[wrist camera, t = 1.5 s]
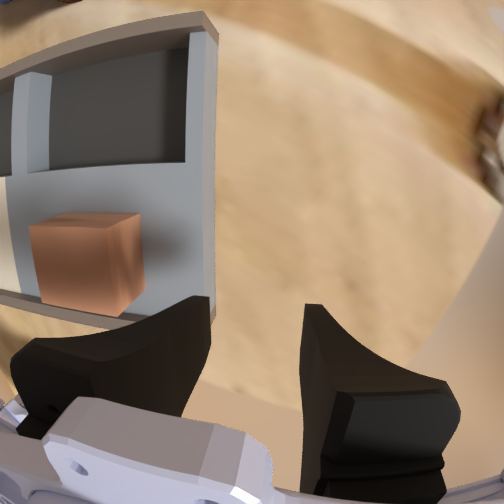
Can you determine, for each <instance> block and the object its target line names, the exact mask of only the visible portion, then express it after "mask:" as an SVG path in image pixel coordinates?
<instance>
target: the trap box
mask: <svg viewBox="0 0 504 504" xmlns="http://www.w3.org/2000/svg"><path fill="white" fill-rule="evenodd" d="M218 40H219V33H218V32H217V30H216V29H215V27H214V26H213V24H212V23H211V21H210V20H209V19H208V17H207V16H206V14H205V13H204V11H198V12H190V13H183V14H176V15H169V16H163V17H158V18H152V19H147V20H142V21H138V22H133V23H129V24H124V25H120V26H116V27H112V28H108V29H105V30H101V31H98V32H94V33H91V34H87V35H84V36H81V37H78V38H75V39H72V40H69V41H66V42H63V43H60V44H58V45H55V46H52V47H50V48H47V49H44V50H42V51H39V52H37V53H34V54H32V55H30V56H27V57H25V58H23V59H20V60H18V61H16V62H14V63H12V64H10V65H7V66H5V67H3V68H1V69H0V304H2V305H6V306H10V307H13V308H17V309H21V310H24V311H28V312H32V313H36V314H40V315H44V316H48V317H53V318H57V319H61V320H66V321H70V322H75V323H79V324H84V325H89V326H94V327H99V328H104V329H109V330H113V329H117V328H120V327H124V326H127V325H130V324H133V323H135V322H138V321H140V320H143V319H145V318H147V317H149V316H152V315H154V314H156V313H158V312H160V311H162V310H164V309H166V308H168V307H170V306H172V305H174V304H176V303H178V302H180V301H182V300H184V299H186V298H188V297H190V296H193V295H197V296H208V297H210V323H211V325H212V322H213V320H214V318H215V316H216V292H215V125H216V89H217V62H218ZM64 213H140V222H141V238H142V252H143V264H144V275H145V285H146V289H145V290H144V291H143V292H142V293H141V294H140V295H139V296H138V297H137V298H136V299H135V300H134V301H133V302H132V303H131V304H130V305H129V306H128V307H127V308H126V309H125V310H124V311H123V312H122V313H121V314H120V315H119V316H118V317H114V316H108V315H103V314H97V313H91V312H86V311H81V310H75V309H70V308H65V307H60V306H55V305H50V304H46V303H42V300H41V296H40V291H39V286H38V281H37V276H36V271H35V266H34V260H33V254H32V247H31V240H30V233H29V226H30V225H33V224H36V223H38V222H41V221H44V220H47V219H50V218H53V217H56V216H58V215H61V214H64Z"/></svg>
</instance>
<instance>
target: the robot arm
mask: <svg viewBox="0 0 504 504" xmlns="http://www.w3.org/2000/svg"><path fill="white" fill-rule="evenodd" d="M210 346H211V323H210V297H208V296H197V295H193V296H190V297H188V298H186V299H184V300H182V301H180V302H178V303H176V304H174V305H172V306H170V307H168V308H166V309H164V310H162V311H160V312H158V313H156V314H154V315H152V316H149V317H147V318H145V319H143V320H140V321H138V322H135V323H133V324H130V325H127V326H124V327H120V328H117V329H113V330H109V331H105V332H100V333H96V334H91V335H84V336H76V337H64V338H34V339H33V340H31V341H30V342H29V343H28V344H27V345H25V346H24V347H23V348H22V349H21V350H19V351H18V352H17V353H16V354H15V355H14V356H13V357H12V358H11V362H10V370H11V376H12V379H13V382H14V385H15V387H16V389H17V391H18V394H17V395H16V396H15V398H14V399H12V400H10V401H9V402H8V403H7V404H6V405H5V406H3V405H4V404H5V402H4V401H3V400H2V399H0V504H504V469H503V470H502V472H501V474H499V475H496V476H493V477H490V478H486V479H483V480H480V481H476V482H473V483H469V484H465V485H461V486H457V487H453V488H449V489H446V486H445V482H444V479H443V476H442V473H441V469H443V467H444V464H445V463H444V460H443V457H442V452H443V451H444V449H445V447H446V446H447V444H448V443H449V441H450V439H451V437H452V436H453V434H454V432H455V431H456V429H457V426H458V424H459V422H460V415H461V410H460V407H459V405H458V402H457V400H456V399H455V397H454V395H453V393H452V391H451V389H450V387H449V386H448V384H447V382H446V381H443V380H439V379H435V378H431V377H428V376H424V375H420V374H418V373H415V372H412V371H410V370H407V369H404V368H402V367H400V366H398V365H395V364H393V363H391V362H389V361H387V360H386V359H384V358H382V357H380V356H378V355H377V354H375V353H373V352H372V351H371V350H369V349H368V348H366V347H365V346H363V345H362V344H361V343H359V342H358V341H357V340H356V339H355V338H353V337H352V336H351V335H350V334H349V333H348V332H347V331H346V330H345V329H343V328H342V327H341V325H340V324H339V323H338V322H337V321H336V320H335V319H334V318H333V317H332V316H331V315H330V313H329V312H328V311H327V310H326V309H325V308H324V306H323V305H322V304H305V309H304V319H303V329H302V338H301V346H300V365H299V375H300V386H301V397H302V409H303V423H304V424H303V425H304V431H303V452H302V468H301V480H300V492H295V491H290V490H286V489H281V488H277V487H273V486H272V473H273V472H272V471H273V462H272V459H271V456H270V454H269V451H268V448H267V447H265V446H264V445H262V444H261V443H259V442H258V441H257V440H255V439H254V438H252V437H251V436H250V435H248V434H247V433H245V432H243V431H240V430H237V429H233V428H229V427H226V426H223V425H220V424H216V423H210V422H203V421H197V420H191V419H186V418H181V415H182V413H183V410H184V408H185V405H186V403H187V401H188V399H189V397H190V395H191V393H192V391H193V389H194V386H195V385H196V382H197V380H198V378H199V376H200V374H201V372H202V370H203V368H204V365H205V363H206V360H207V356H208V353H209V350H210Z"/></svg>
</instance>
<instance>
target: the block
mask: <svg viewBox="0 0 504 504" xmlns="http://www.w3.org/2000/svg"><path fill="white" fill-rule="evenodd" d="M29 233H30V240H31V247H32V254H33V260H34V266H35V271H36V276H37V281H38V286H39V291H40V296H41V300H42V303H46V304H50V305H55V306H60V307H65V308H70V309H75V310H81V311H86V312H91V313H97V314H103V315H108V316H114V317H118V316H119V315H120V314H121V313H122V312H123V311H124V310H125V309H126V308H127V307H128V306H129V305H130V304H131V303H132V302H133V301H134V300H135V299H136V298H137V297H138V296H139V295H140V294H141V293H142V292H143V291H144V290H145V289H146V285H145V275H144V264H143V252H142V238H141V222H140V213H64V214H61V215H58V216H56V217H53V218H50V219H47V220H44V221H41V222H38V223H36V224H33V225H30V226H29Z"/></svg>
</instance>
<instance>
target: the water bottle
mask: <svg viewBox="0 0 504 504" xmlns="http://www.w3.org/2000/svg"><path fill="white" fill-rule="evenodd" d="M10 1H12V0H0V4H6V3H8V2H10Z"/></svg>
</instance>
